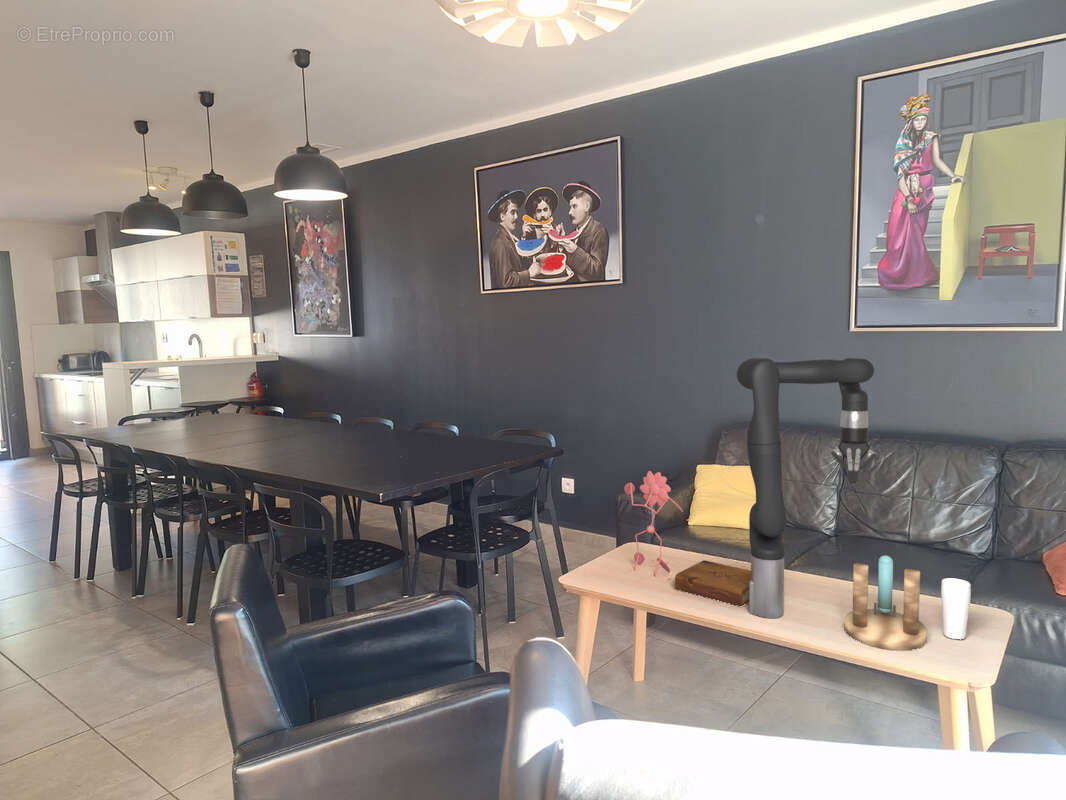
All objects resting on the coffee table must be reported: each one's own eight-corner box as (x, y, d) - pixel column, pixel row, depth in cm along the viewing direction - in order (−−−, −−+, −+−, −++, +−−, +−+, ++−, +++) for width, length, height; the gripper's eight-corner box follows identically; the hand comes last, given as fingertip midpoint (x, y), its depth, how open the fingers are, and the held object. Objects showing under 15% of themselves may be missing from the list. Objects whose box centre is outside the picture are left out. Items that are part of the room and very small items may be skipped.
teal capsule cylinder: (877, 614, 193) (878, 557, 192) (877, 609, 197) (878, 553, 195) (892, 616, 192) (893, 558, 190) (891, 611, 195) (893, 554, 193)
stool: (842, 642, 184) (843, 570, 182) (845, 614, 202) (847, 549, 200) (929, 656, 175) (931, 581, 173) (924, 626, 193) (926, 557, 191)
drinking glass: (936, 636, 186) (938, 582, 184) (943, 629, 191) (945, 576, 189) (965, 644, 181) (967, 588, 180) (972, 636, 186) (974, 581, 184)
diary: (675, 592, 225) (674, 574, 224) (703, 576, 238) (703, 560, 238) (741, 609, 209) (741, 590, 208) (768, 591, 223) (768, 573, 222)
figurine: (673, 582, 231) (674, 479, 228) (614, 565, 250) (614, 469, 247) (700, 572, 241) (701, 473, 238) (641, 556, 260) (641, 464, 257)
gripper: (829, 426, 206) (828, 483, 207) (879, 427, 200) (877, 486, 201) (830, 423, 212) (830, 478, 214) (879, 424, 206) (877, 481, 208)
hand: (853, 482), depth 208 cm, fingers closed
